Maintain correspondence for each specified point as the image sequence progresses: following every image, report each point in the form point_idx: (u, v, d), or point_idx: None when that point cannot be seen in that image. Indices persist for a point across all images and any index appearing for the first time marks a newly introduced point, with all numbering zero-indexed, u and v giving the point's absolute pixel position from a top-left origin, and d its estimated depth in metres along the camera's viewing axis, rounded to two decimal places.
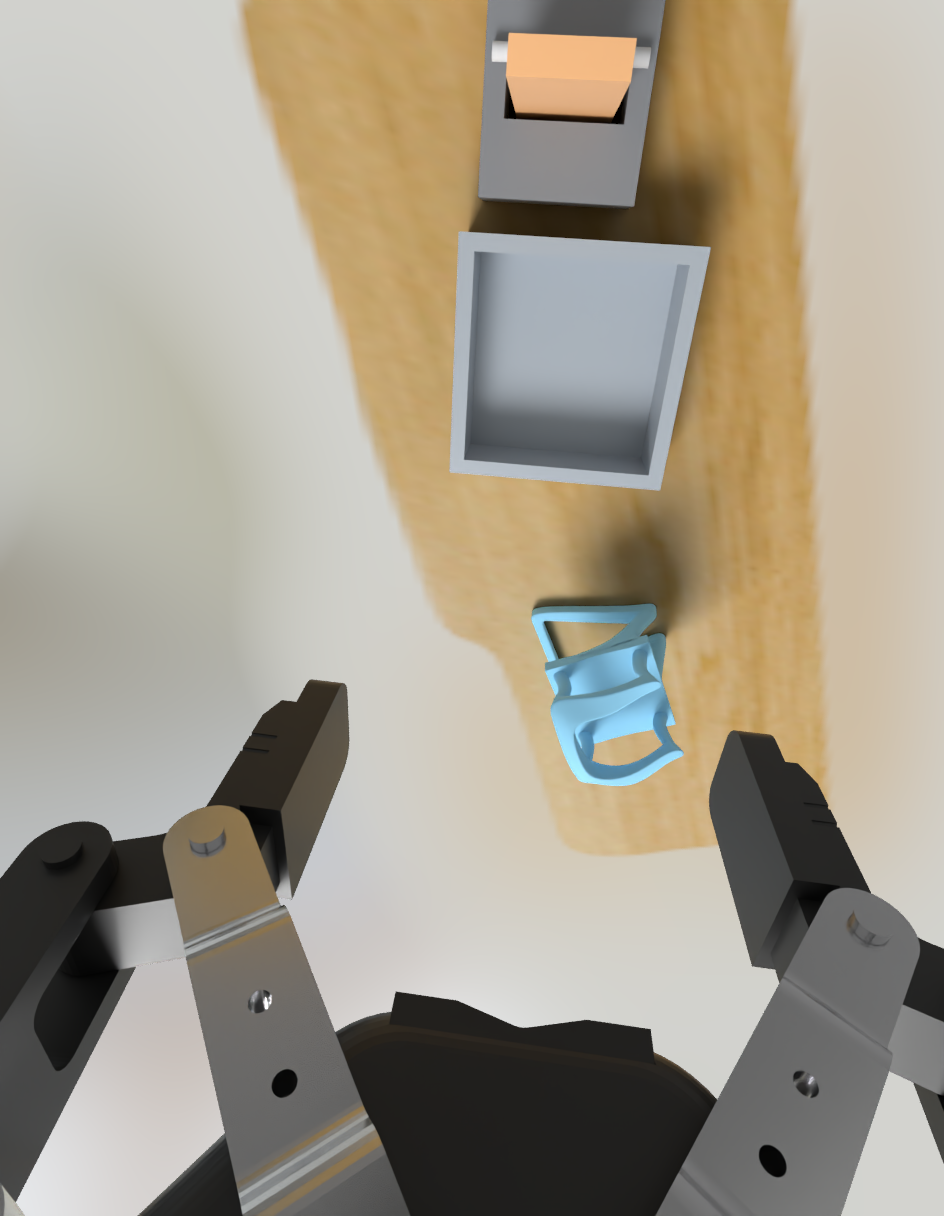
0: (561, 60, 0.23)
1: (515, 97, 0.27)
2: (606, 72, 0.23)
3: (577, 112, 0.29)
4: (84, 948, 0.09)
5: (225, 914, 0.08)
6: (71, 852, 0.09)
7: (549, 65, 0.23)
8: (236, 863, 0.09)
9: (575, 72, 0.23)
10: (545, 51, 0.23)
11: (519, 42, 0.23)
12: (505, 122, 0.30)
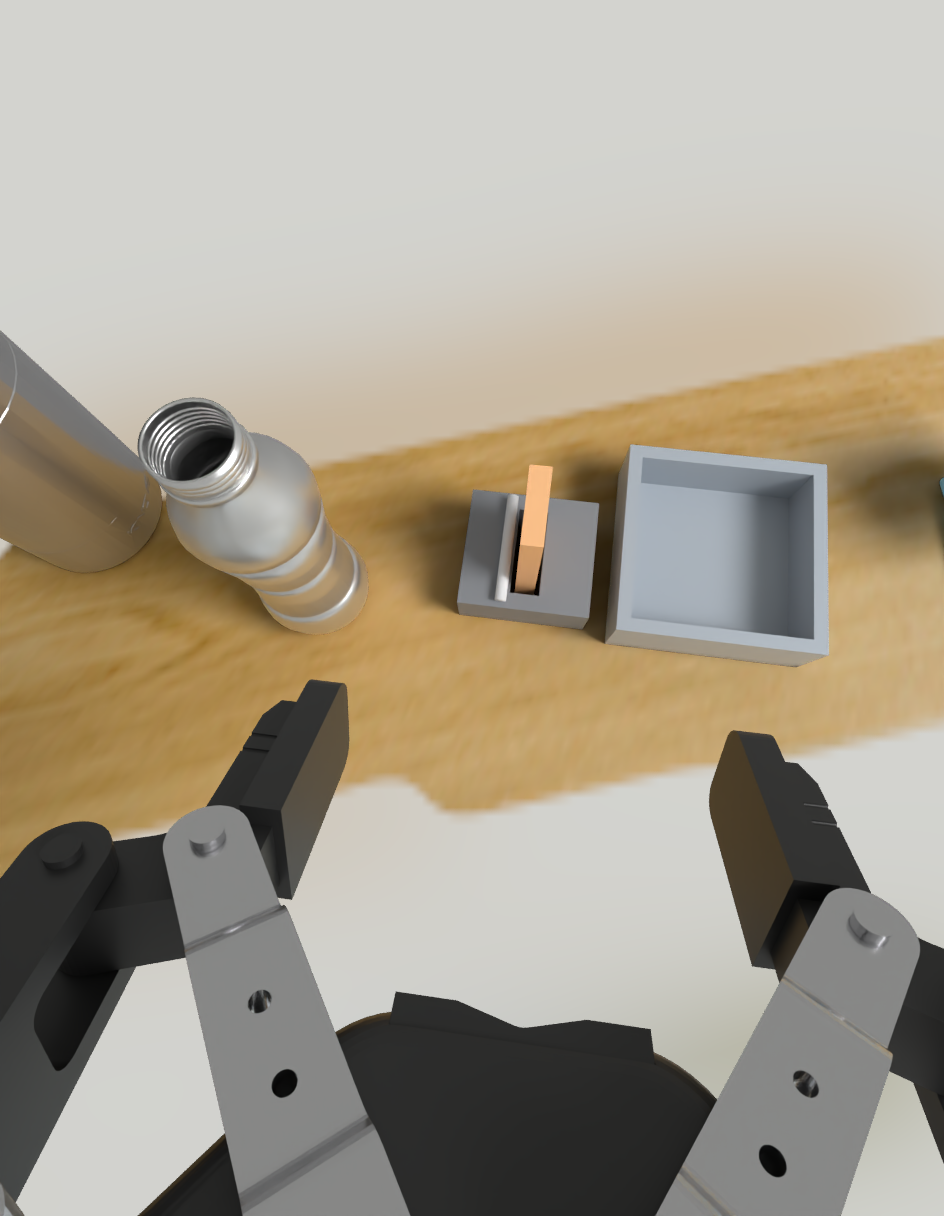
0: (538, 510, 0.33)
1: (538, 568, 0.36)
2: (546, 482, 0.33)
3: None
4: (84, 948, 0.09)
5: (225, 914, 0.08)
6: (71, 852, 0.09)
7: (540, 518, 0.33)
8: (236, 863, 0.09)
9: (545, 501, 0.33)
10: (532, 520, 0.33)
11: (525, 537, 0.33)
12: (541, 594, 0.39)
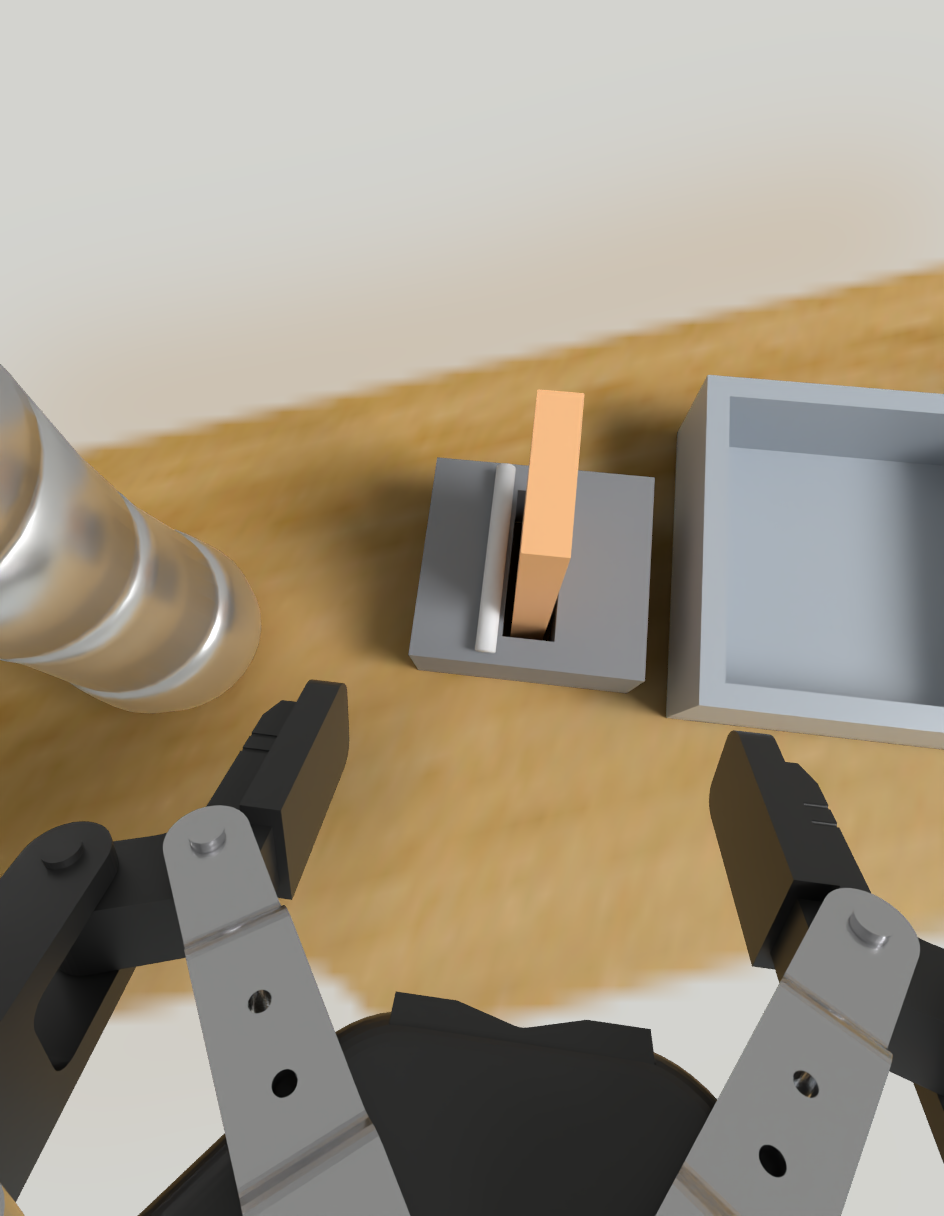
0: (556, 481, 0.16)
1: None
2: (572, 423, 0.16)
3: None
4: (84, 948, 0.09)
5: (225, 914, 0.08)
6: (71, 852, 0.09)
7: (561, 497, 0.16)
8: (236, 863, 0.09)
9: (571, 462, 0.16)
10: (544, 503, 0.16)
11: (532, 538, 0.15)
12: (558, 639, 0.22)
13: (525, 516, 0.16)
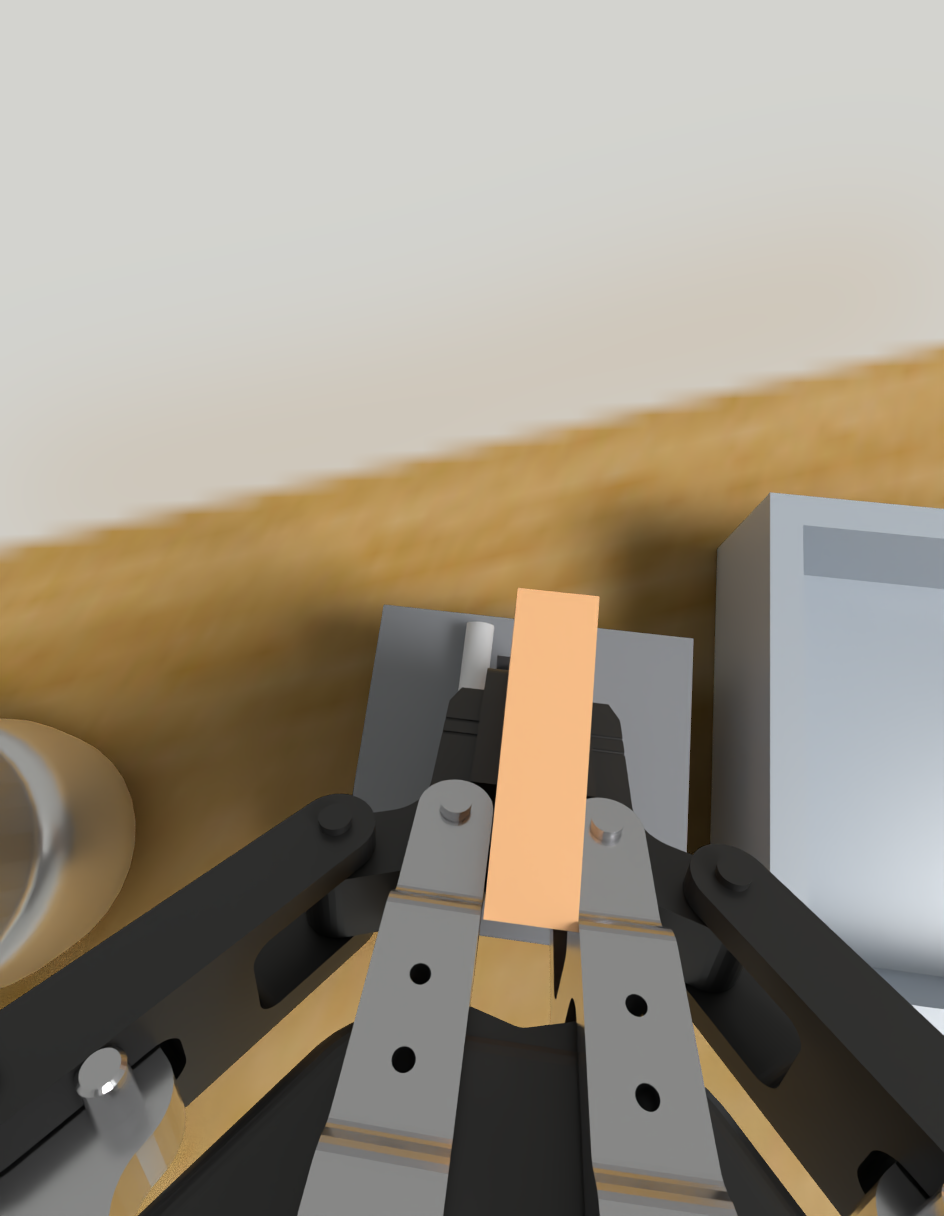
0: (551, 770, 0.09)
1: None
2: (579, 654, 0.09)
3: None
4: (323, 911, 0.10)
5: (437, 881, 0.09)
6: (340, 824, 0.10)
7: (559, 802, 0.09)
8: (466, 843, 0.10)
9: (577, 731, 0.09)
10: (529, 812, 0.09)
11: (506, 887, 0.08)
12: None
13: (493, 841, 0.08)
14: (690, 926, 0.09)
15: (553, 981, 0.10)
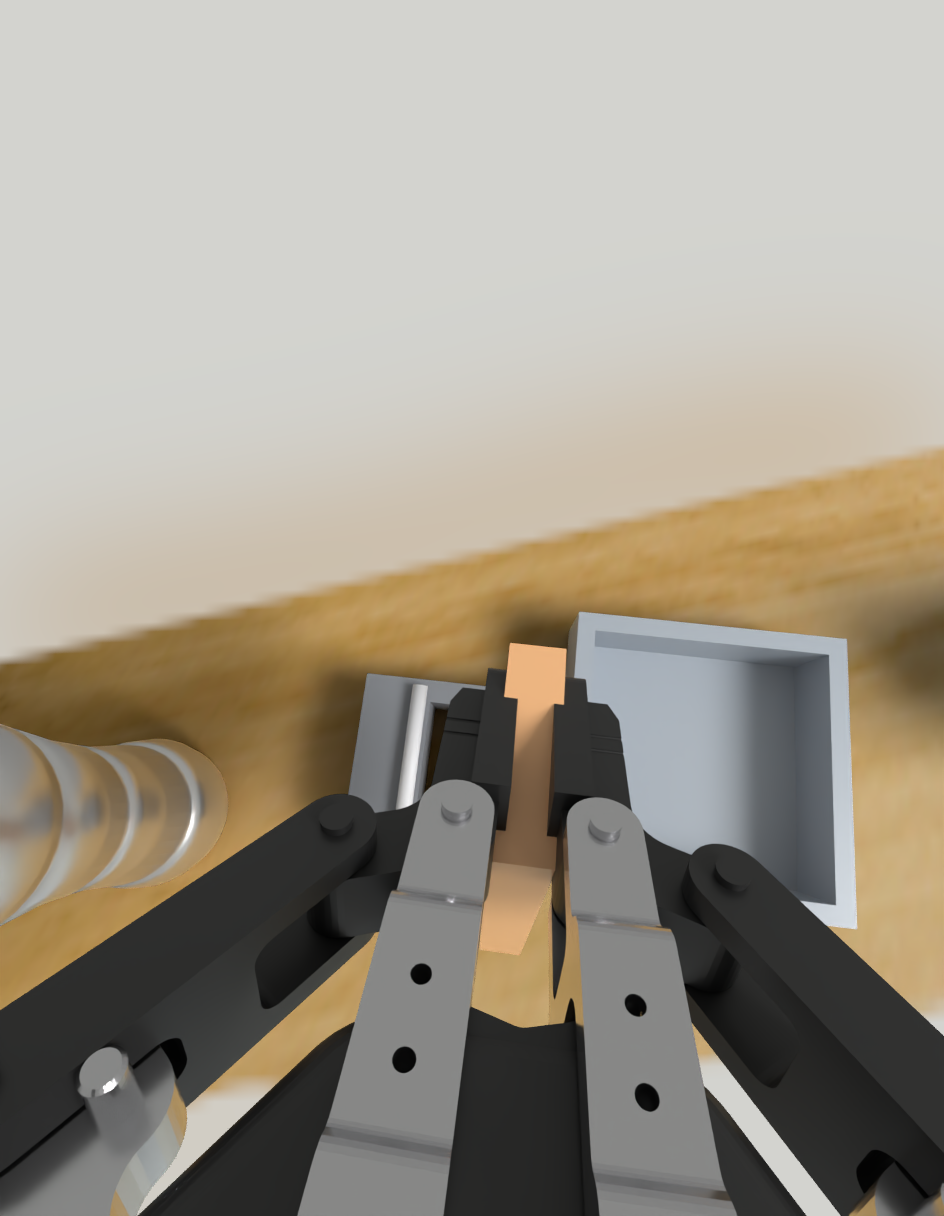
0: (534, 760, 0.12)
1: None
2: (553, 685, 0.13)
3: None
4: (324, 912, 0.10)
5: (438, 881, 0.09)
6: (341, 825, 0.10)
7: (541, 781, 0.12)
8: (467, 843, 0.10)
9: None
10: (519, 788, 0.12)
11: (503, 839, 0.11)
12: None
13: None
14: (689, 926, 0.09)
15: (552, 981, 0.10)
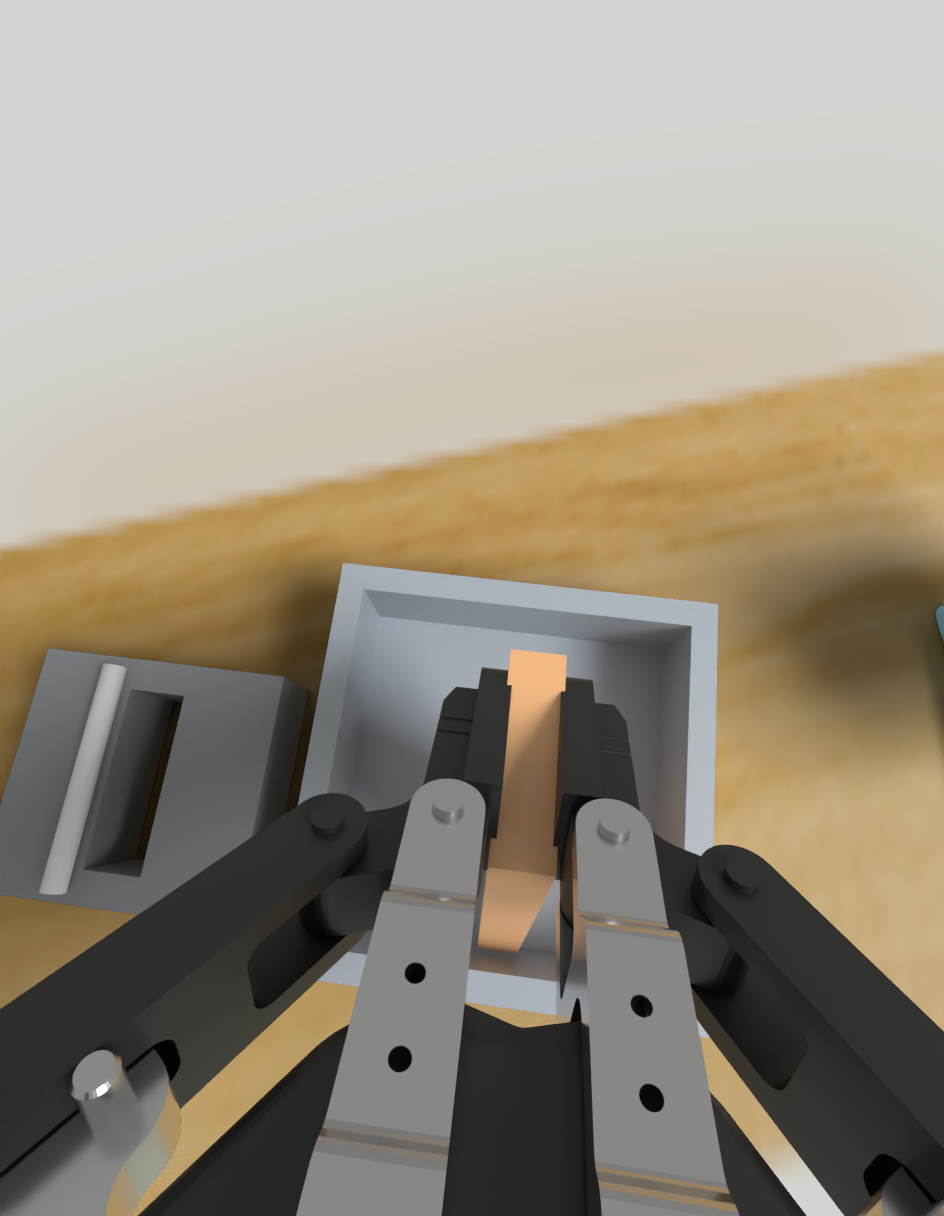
0: (535, 766, 0.12)
1: None
2: (554, 691, 0.13)
3: None
4: (316, 911, 0.10)
5: (430, 880, 0.09)
6: (332, 823, 0.10)
7: (541, 787, 0.12)
8: (459, 841, 0.10)
9: (553, 741, 0.13)
10: (520, 794, 0.12)
11: (504, 845, 0.11)
12: (145, 874, 0.19)
13: None
14: (699, 927, 0.09)
15: (559, 981, 0.10)
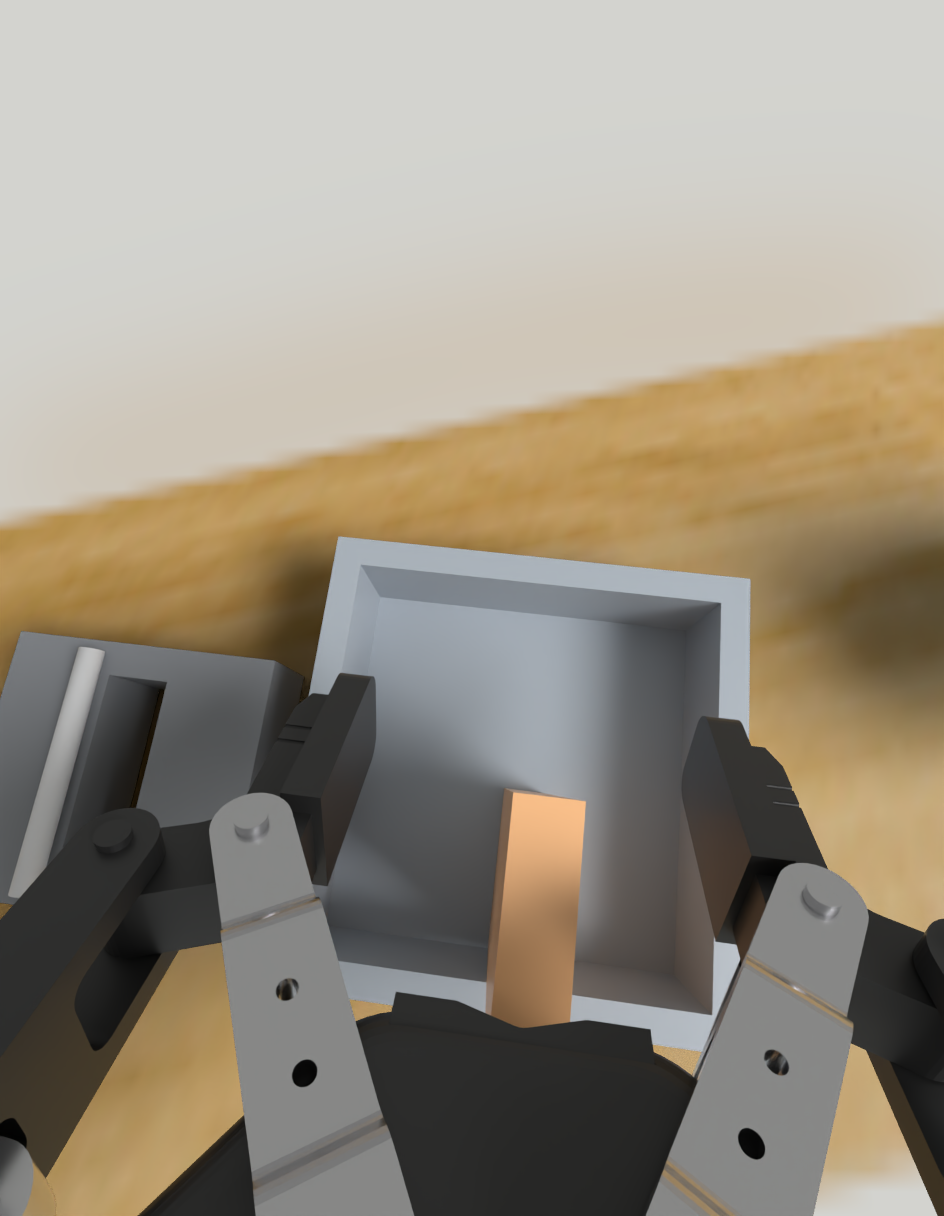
0: (541, 968, 0.10)
1: None
2: (567, 857, 0.10)
3: None
4: (128, 932, 0.09)
5: (262, 900, 0.09)
6: (121, 838, 0.09)
7: (548, 998, 0.10)
8: (276, 851, 0.09)
9: (565, 931, 0.10)
10: (522, 1008, 0.10)
11: None
12: None
13: None
14: (932, 1014, 0.08)
15: (713, 1024, 0.10)
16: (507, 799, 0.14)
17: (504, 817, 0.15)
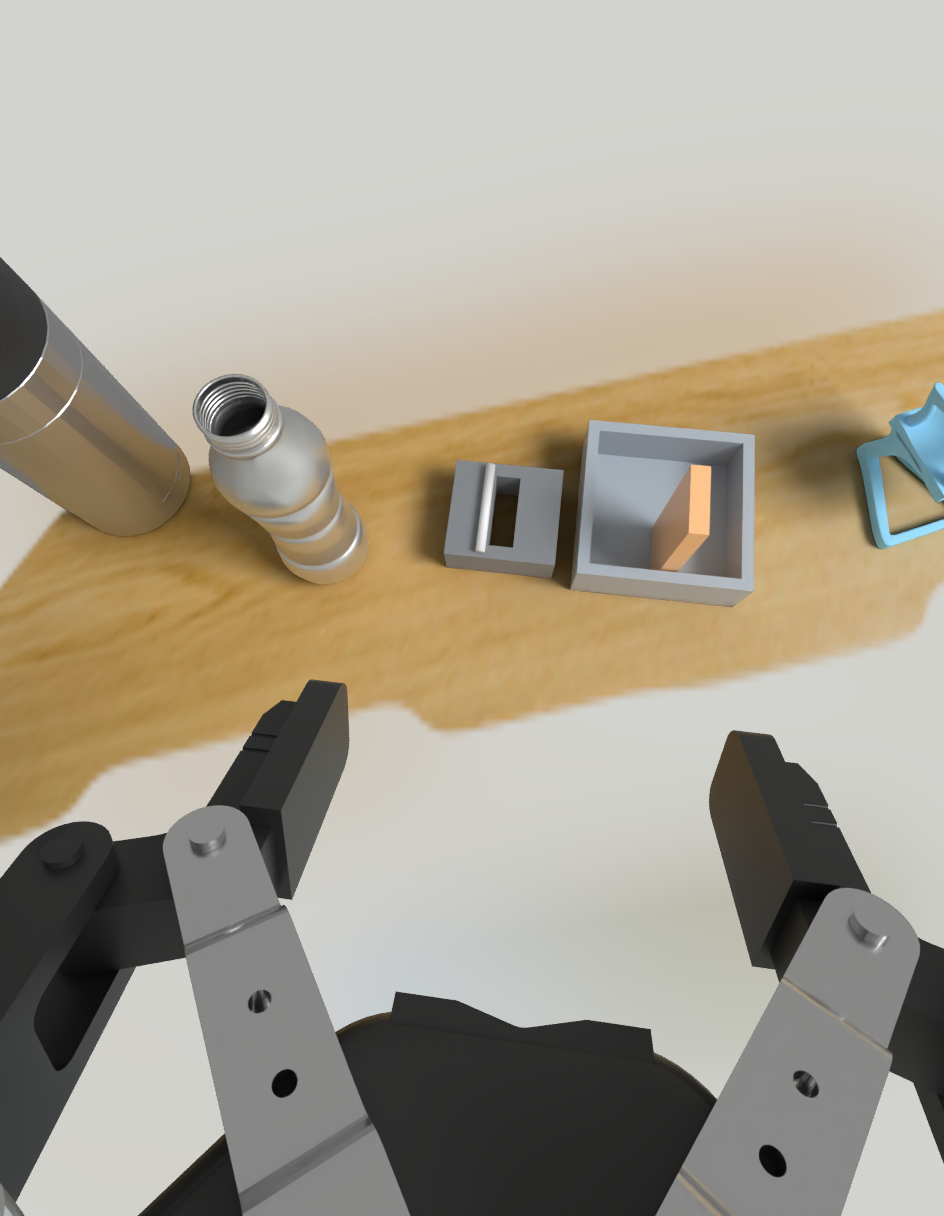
0: (701, 504, 0.38)
1: None
2: (706, 479, 0.39)
3: None
4: (84, 948, 0.09)
5: (225, 914, 0.08)
6: (71, 852, 0.09)
7: (704, 510, 0.38)
8: (236, 863, 0.09)
9: (707, 495, 0.39)
10: (697, 512, 0.38)
11: (693, 527, 0.38)
12: (515, 546, 0.46)
13: (689, 518, 0.38)
14: None
15: None
16: (674, 494, 0.43)
17: (669, 507, 0.44)
